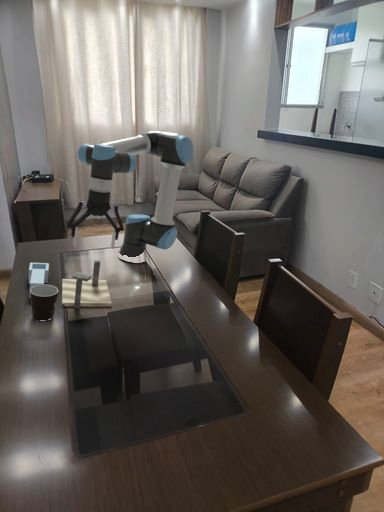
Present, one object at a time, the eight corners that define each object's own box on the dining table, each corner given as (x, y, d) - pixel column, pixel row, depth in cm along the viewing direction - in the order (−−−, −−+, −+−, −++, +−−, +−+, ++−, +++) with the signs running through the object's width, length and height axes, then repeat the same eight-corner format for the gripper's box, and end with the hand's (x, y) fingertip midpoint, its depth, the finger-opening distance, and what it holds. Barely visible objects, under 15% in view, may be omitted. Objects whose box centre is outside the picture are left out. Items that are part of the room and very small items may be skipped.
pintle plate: (62, 282, 147) (64, 255, 143) (105, 283, 153) (108, 257, 149) (62, 308, 128) (64, 278, 124) (111, 309, 134) (115, 280, 130)
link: (29, 276, 147) (30, 262, 145) (48, 276, 149) (48, 263, 147) (25, 298, 130) (26, 283, 128) (46, 298, 133) (47, 283, 131)
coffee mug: (47, 326, 116) (48, 298, 113) (23, 319, 118) (24, 292, 114) (66, 310, 127) (68, 285, 124) (44, 304, 128) (45, 279, 125)
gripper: (63, 187, 118) (58, 247, 125) (136, 196, 128) (129, 251, 135) (62, 183, 125) (57, 240, 132) (132, 192, 135) (125, 245, 141)
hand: (93, 246), depth 133 cm, fingers open, 13 cm apart
